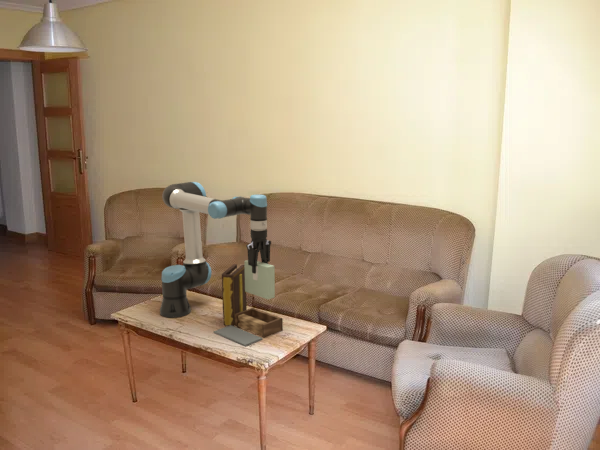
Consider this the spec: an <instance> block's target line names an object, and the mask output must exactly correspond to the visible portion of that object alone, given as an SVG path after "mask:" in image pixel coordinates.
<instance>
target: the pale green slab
mask: <svg viewBox="0 0 600 450" xmlns="http://www.w3.org/2000/svg"><path fill="white" fill-rule="evenodd" d="M243 263H244V264H243V265H245V292H247V294H250V295H254V296H256V297H260V298H261V299H265V300H268V301H269V300H271V299H274V298H275V297H276V296H275V295H276V293H275V292H276V291H275V290H276V289H275V287H276V286H275V285H276V283H275V280H276V279H275V278H276V277H275V275H276V274H275V270H276V269H275V267H276V266H275V265H273V264H269V263H268V264H266V263H263V262H262V261H259V260H257V266H258V280H254V279H253V273H252V266H250V265H248V259H247V260H244V262H243Z"/></svg>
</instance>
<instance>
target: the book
mask: <svg viewBox="0 0 600 450" xmlns="http://www.w3.org/2000/svg"><path fill="white" fill-rule="evenodd" d="M247 294H248V292H245V264H241V265H240V266H239V267H238V264H237V263H234V264H232V265H230V266H229V267H228V268H227V269H226V270H225V271H224V272H222V273H221V295H222V298H221V299H222V325H223V326H225V327H227V326H229V325H232V326H234V327H236V326H235V314H236V313H239V312H242V311H245V310H248V309H247V307H248V306H247V305H248V304H247Z"/></svg>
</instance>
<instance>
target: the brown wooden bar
mask: <svg viewBox="0 0 600 450" xmlns="http://www.w3.org/2000/svg"><path fill="white" fill-rule="evenodd" d="M238 319H239V320H240V323H238V326H237V328H239V329H242V330H244V331H247V332H249V333H252V334H254V335H257V336H259V337H263V324H265V323H267V322H264V321H261V320H259V319H256V318H253V317H251V316H248V315H245V314H242V315H239V316H238Z"/></svg>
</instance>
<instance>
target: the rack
mask: <svg viewBox="0 0 600 450" xmlns="http://www.w3.org/2000/svg"><path fill="white" fill-rule="evenodd" d="M242 314H245V315H248V316H251V317H253V318H256V319H259V320H261V321H264V322H267V323H265V324H263V336H262V338H264V339H266V338H268V337H270V336H272V335H275V334H278V333H280V332H283V326H284V324H283V319H284V318H282V317H280V316H278V315H275V314H272V313H269V312H266V311H264V310H261V309H258V308H255V307H251V308H248V309H247V310H245V311H242V312H239V313H236V314H235V326H234V327H237V328H238V323H240V320H239V319H238V316H239V315H242Z"/></svg>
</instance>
